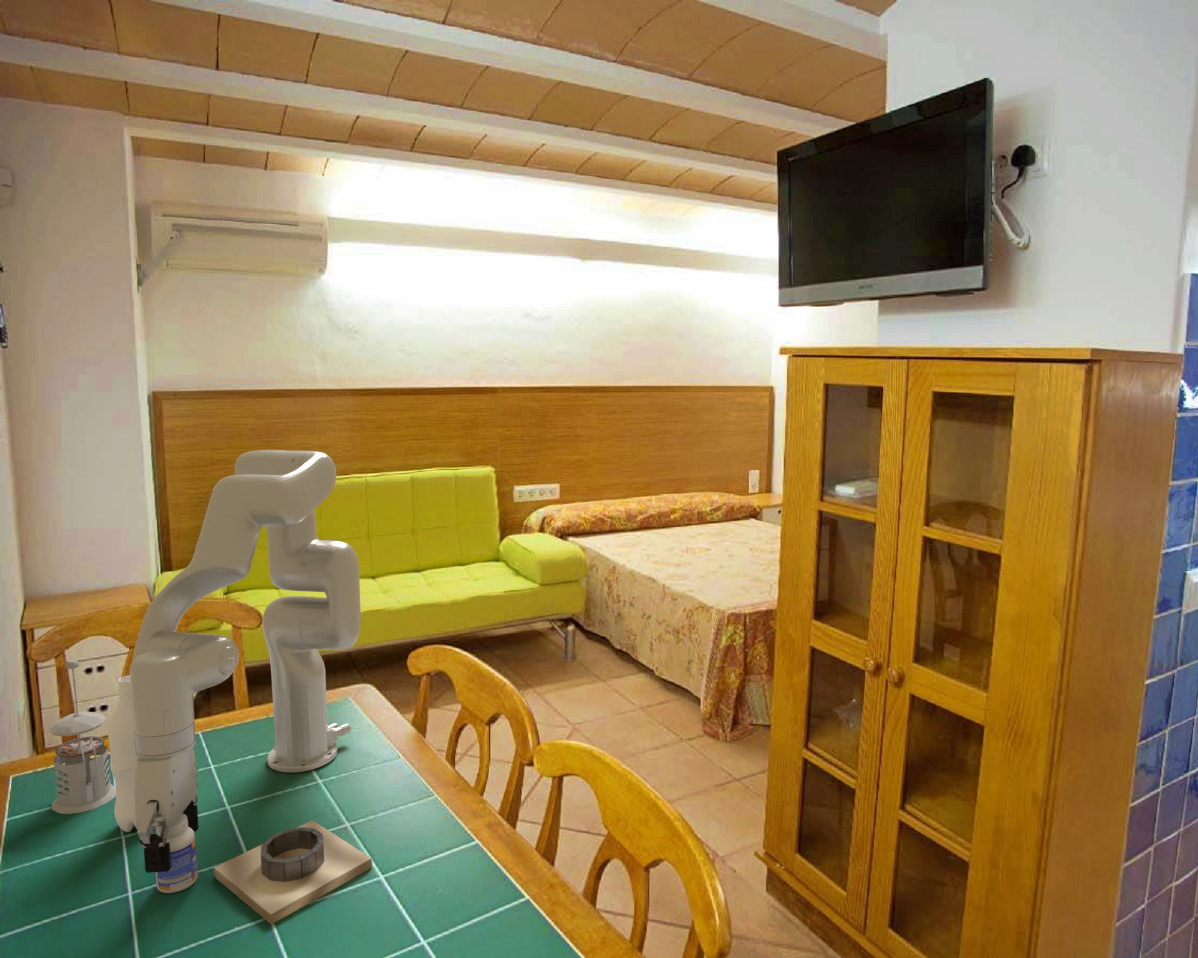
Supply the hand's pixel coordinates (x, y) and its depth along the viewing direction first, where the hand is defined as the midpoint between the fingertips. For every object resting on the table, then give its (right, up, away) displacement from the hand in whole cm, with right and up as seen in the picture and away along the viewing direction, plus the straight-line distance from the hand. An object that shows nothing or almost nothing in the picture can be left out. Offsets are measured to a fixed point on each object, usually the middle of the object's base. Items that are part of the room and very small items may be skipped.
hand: (173, 850), depth 116 cm
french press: (-27, -2, +23) cm, 36 cm away
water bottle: (-14, -3, +16) cm, 21 cm away
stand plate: (+16, -5, +3) cm, 17 cm away
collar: (+16, -3, +3) cm, 17 cm away
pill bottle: (0, -5, +1) cm, 6 cm away
